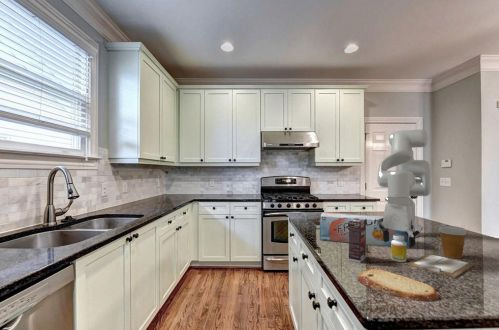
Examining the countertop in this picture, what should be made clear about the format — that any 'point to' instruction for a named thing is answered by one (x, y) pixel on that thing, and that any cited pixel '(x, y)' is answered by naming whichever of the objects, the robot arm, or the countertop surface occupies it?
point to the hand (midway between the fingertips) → (398, 244)
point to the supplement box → (357, 240)
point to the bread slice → (397, 285)
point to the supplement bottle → (398, 249)
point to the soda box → (338, 229)
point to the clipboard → (441, 265)
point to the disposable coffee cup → (452, 241)
